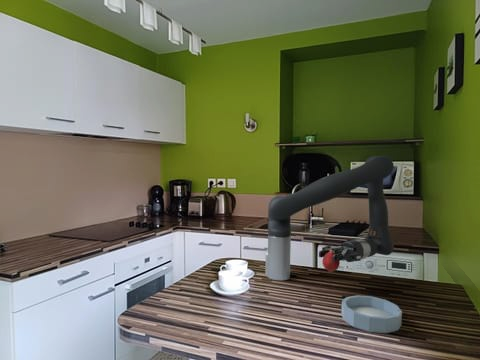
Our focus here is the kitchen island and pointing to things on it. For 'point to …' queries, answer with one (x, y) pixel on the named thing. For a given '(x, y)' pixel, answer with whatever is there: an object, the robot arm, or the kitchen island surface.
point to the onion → (330, 262)
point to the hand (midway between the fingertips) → (326, 256)
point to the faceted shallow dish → (371, 314)
